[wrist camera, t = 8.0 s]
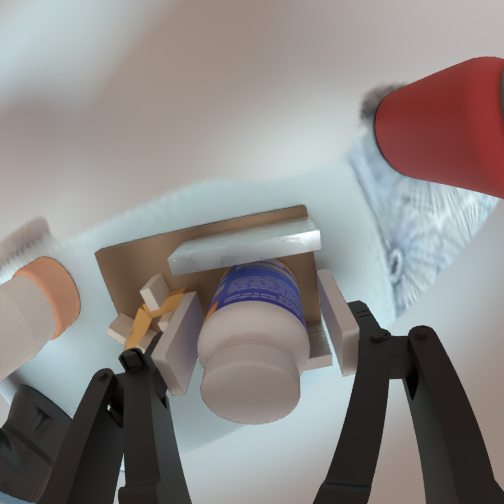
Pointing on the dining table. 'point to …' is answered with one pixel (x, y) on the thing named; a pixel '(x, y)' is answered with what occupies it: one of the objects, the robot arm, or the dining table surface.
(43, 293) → the pepper shaker
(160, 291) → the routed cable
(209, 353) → the pill bottle
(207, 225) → the board
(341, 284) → the dining table surface
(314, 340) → the end holder
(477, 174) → the beer can
